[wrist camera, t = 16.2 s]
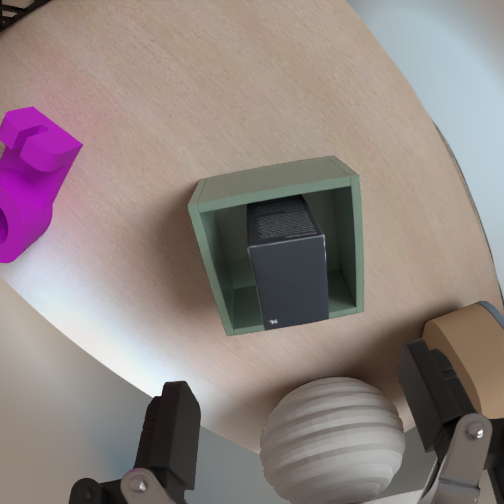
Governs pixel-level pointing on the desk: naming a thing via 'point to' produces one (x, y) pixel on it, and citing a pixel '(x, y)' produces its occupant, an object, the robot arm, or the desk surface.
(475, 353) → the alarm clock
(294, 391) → the table lamp
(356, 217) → the green storage bin
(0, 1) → the rack
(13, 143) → the magenta mechanical bracket
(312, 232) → the box
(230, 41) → the desk surface
